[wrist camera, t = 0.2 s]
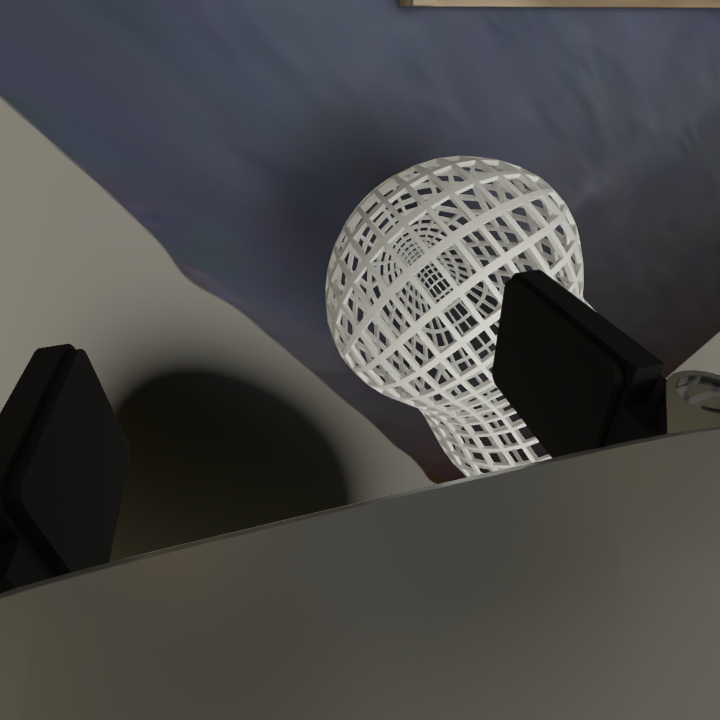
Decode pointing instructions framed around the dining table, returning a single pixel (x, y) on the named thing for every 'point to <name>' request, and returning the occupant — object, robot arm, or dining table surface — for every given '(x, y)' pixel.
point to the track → (564, 3)
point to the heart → (535, 257)
